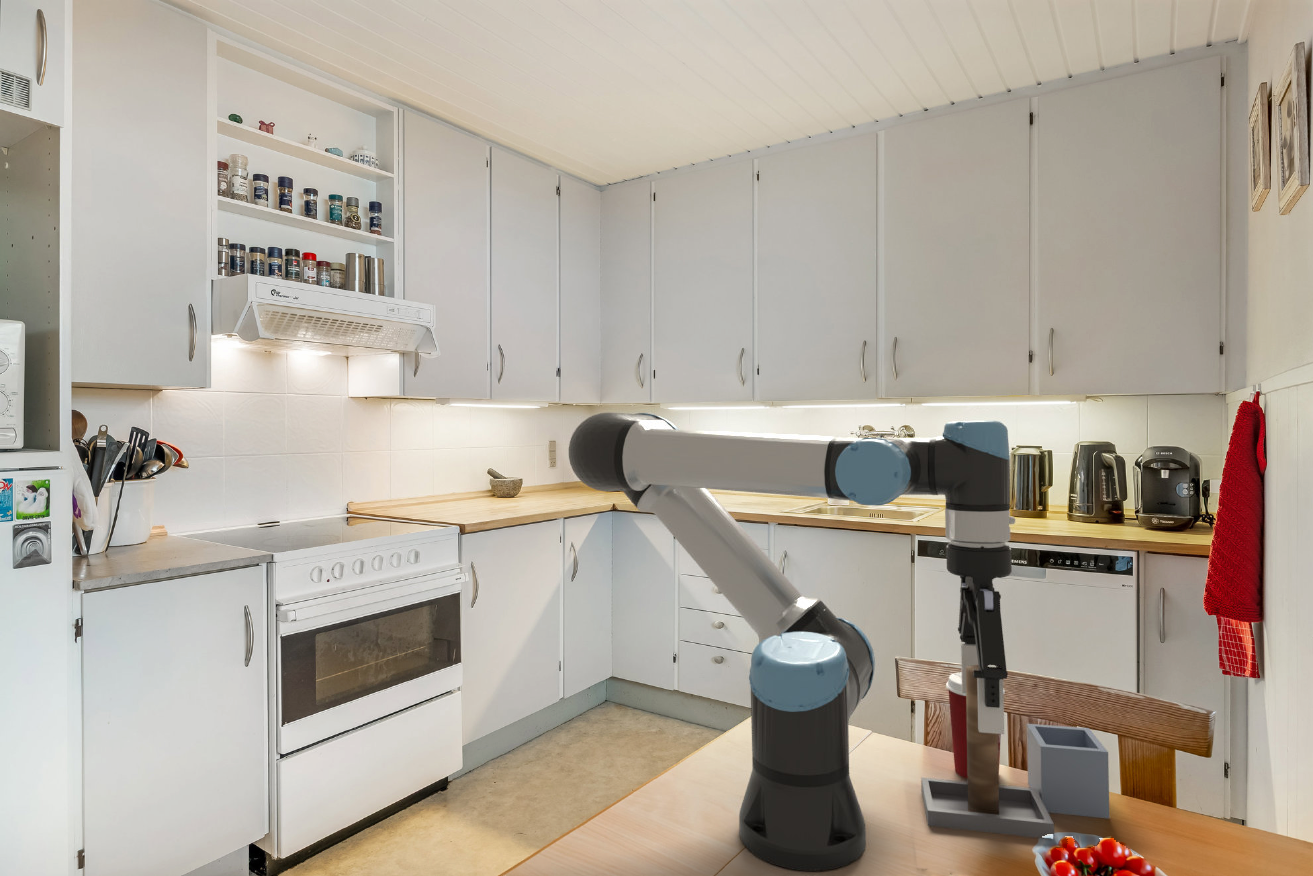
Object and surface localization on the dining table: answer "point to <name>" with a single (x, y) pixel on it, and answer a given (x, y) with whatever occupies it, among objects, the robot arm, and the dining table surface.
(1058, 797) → the open grey box
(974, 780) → the dowel
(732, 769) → the dining table surface
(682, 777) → the dining table surface
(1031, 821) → the tray
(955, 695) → the paper cup
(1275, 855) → the dining table surface
